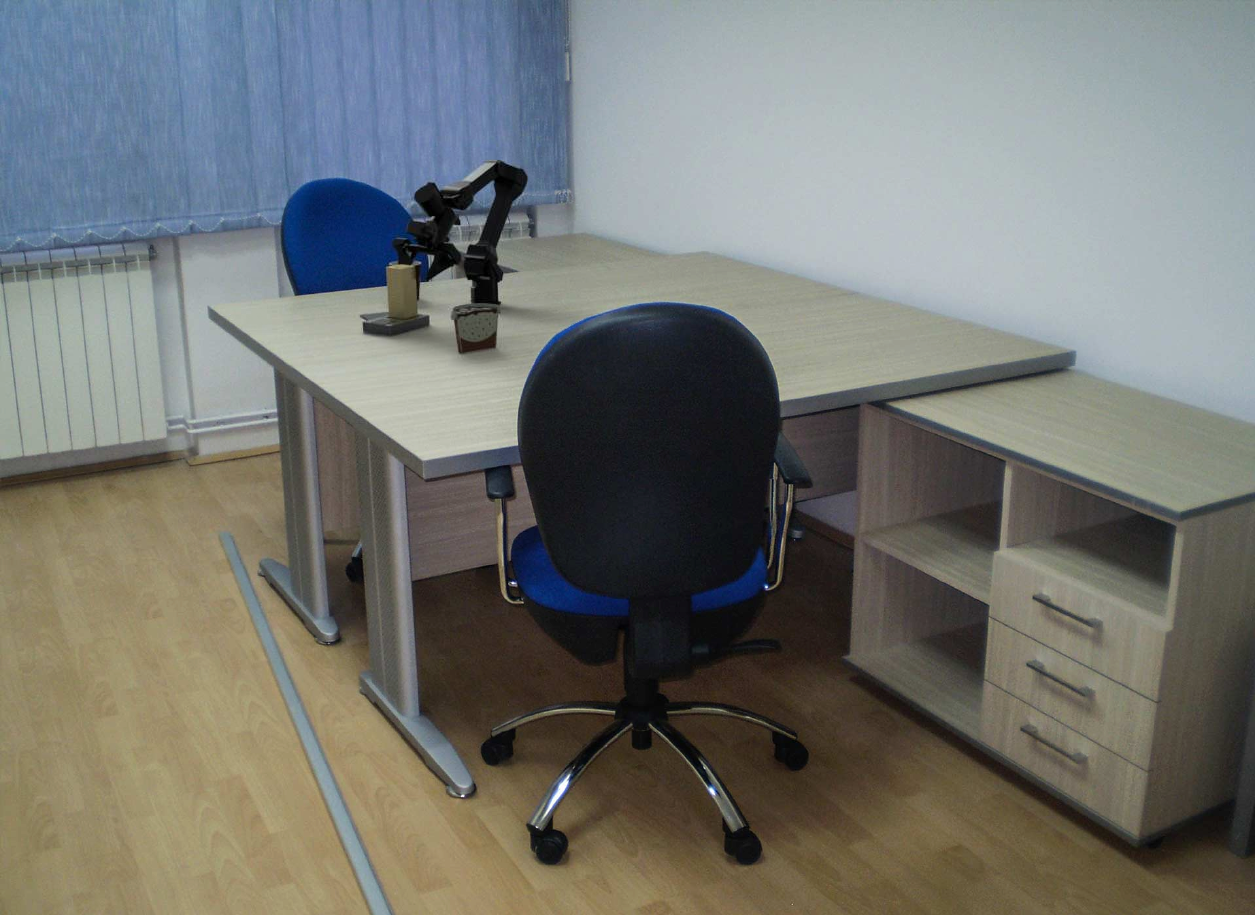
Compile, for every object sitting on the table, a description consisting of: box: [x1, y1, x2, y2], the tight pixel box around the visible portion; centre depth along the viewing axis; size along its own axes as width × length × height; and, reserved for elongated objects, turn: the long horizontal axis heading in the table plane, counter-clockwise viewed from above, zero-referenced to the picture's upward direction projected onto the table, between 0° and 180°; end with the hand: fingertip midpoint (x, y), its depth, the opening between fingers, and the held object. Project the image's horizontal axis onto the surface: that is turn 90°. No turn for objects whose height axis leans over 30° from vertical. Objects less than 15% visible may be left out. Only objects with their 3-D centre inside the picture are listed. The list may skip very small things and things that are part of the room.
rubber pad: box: [359, 311, 389, 321], centre depth 326 cm, size 10×10×1 cm
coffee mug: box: [388, 260, 422, 302], centre depth 348 cm, size 12×9×10 cm
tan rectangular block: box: [385, 264, 419, 320], centre depth 314 cm, size 5×5×15 cm
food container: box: [450, 303, 501, 355], centre depth 293 cm, size 12×6×10 cm, turn 129°
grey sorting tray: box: [361, 313, 431, 337], centre depth 314 cm, size 14×9×3 cm, turn 149°
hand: (412, 278), depth 316 cm, fingers open, 9 cm apart
